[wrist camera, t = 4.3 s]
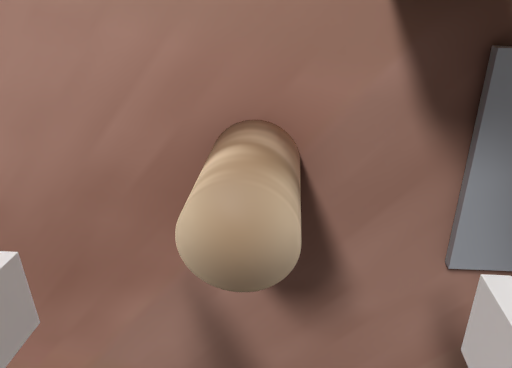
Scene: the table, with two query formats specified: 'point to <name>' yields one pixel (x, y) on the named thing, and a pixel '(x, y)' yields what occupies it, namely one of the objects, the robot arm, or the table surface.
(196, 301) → the table surface
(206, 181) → the cork
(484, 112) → the coaster
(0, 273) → the robot arm
